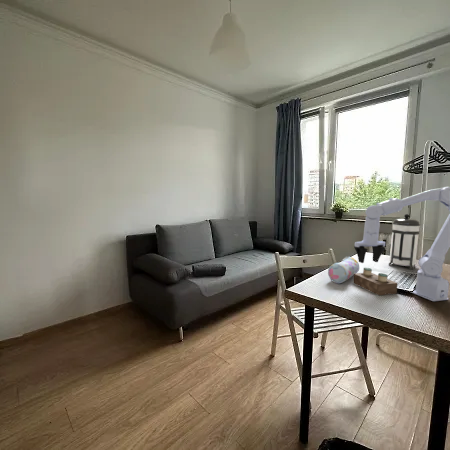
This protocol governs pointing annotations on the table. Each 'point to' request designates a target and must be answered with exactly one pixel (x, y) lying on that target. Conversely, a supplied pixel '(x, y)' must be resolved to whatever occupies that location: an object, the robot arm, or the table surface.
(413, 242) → the coffee press
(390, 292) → the socket block
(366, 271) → the peg far
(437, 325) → the table surface
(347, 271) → the pencil case
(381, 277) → the peg near
